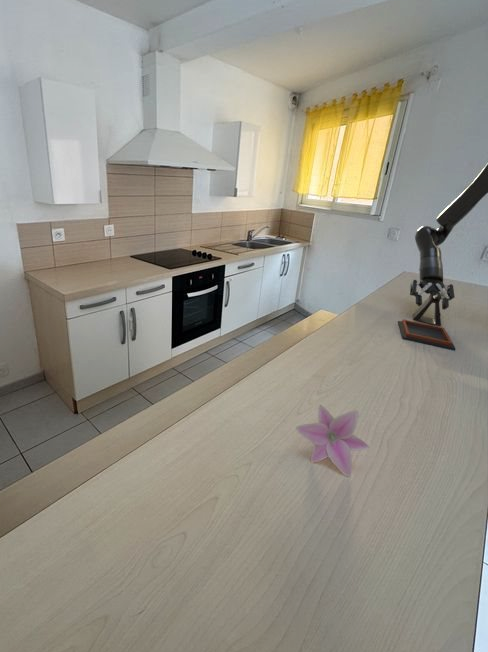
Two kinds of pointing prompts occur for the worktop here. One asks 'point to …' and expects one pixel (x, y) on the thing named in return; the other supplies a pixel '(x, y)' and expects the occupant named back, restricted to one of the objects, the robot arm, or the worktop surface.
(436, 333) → the rimmed tray
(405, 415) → the worktop surface
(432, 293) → the phone stand
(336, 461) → the lily
